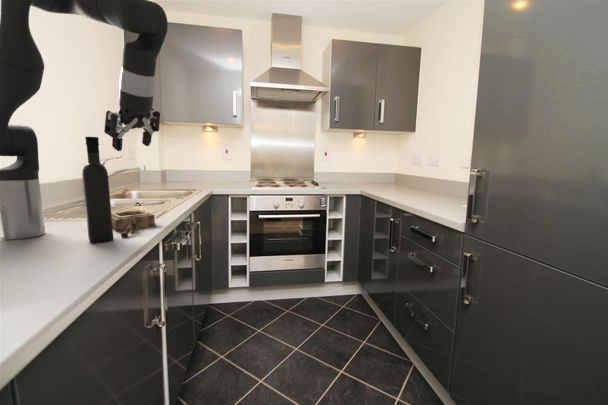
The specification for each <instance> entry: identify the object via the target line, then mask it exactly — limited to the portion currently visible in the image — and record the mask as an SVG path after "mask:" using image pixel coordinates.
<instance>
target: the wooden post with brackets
mask: <svg viewBox="0 0 608 405" xmlns="http://www.w3.org/2000/svg"><path fill="white" fill-rule="evenodd" d="M135 222H136V221H135V219H132V220H131V223H130V225H128V227H127V229H126V230H125V231H122V232H120V237H121V238H129V233H130V235H133V234H135V233H136V232H137V231H138V229H137V227H136V225H135ZM132 226H133V227H134V229H132Z"/></svg>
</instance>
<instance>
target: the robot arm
mask: <svg viewBox="0 0 608 405" xmlns="http://www.w3.org/2000/svg"><path fill="white" fill-rule="evenodd" d="M31 7H33V8H36V9H39V10H42V11H43V12H47V13H51V14H52V13H53V14H63V15H76V16H82V17H84V18H85V17H86V18H88V19H90V20H94V21H96V22H99V23H103V24H107V25H110V26H113V27H116V28H119V29H121V30H124V31H127V32H129V33H132V34H137V37H136V39H135V40H133V41H128V42H125V43H124V44H123V47H122V58H121V59H122V60H121V71H120V76H119V89H118V105H119V110H118V111H117V112H115V111H111V110H107V111H106V112H105V120H104V134H105V135H108V136H109V137H111V138H112V139H111V140H112V142H111V143H112V144H111V146H112V148H113V149H114V150H116V151H117V152H121V151H122V149H123V141H124V140H123V137H124V135H125V134H126V133H129V132H130V131H131V130H134V129H143V132H142V142H141V143H142V145H144V146H146V147H149V146H150V145H151V144H152V137H153V134H154V133H155V132H156V133H158V132H159V130H160V124H161V123H160V121H161V113H160V111H158V110H156V109H154V108H153V105H154V104H153V103H154V94H155V86H156V83H155V82H156V81H155V79H156V78H155V76H156V68H157V58H158V56H159V53H160V51H161V50H162V47H163V44H164V42H165V39H166V36H167V33H168V28H169V25H168V23H169V22H168V17H167V13H166V12H165V10H164V8H163V7H162V6H161V5H160V4H159V3H157V2H154V1H151V0H0V157H16V159H15V160H16V161H15V162H13V163H11V164H10V165H7V166H5V167H1V168H0V220H1V226H2V234H3V239H4V241H7V240H21V239H29V238H35V237H39V236H42V235H45V234H46V225H45V217H44V210H43V202H42V201H43V200H42V195H41V194H42V193H41V185H40V179H39V172H40V163H39V161H40V160H39V158H40V157H39V145H38V144H39V142H38V137H37V134H36V132H35V130H34V129H33V128H32V127H31V126H29V125H24V124H13V123H10V120H11V119H12V116H13V114H14V113H15V112H16V111H17V110H18V109H19V108H20V107H21V106H23V105H24V104H26V102H28V101H29V100H30V99H32V97H34V96H35V95H36V94H37V93H38V91H39V90H40V88H41V85H42V81H43V76H44V73H45V72H44V71H45V61H44V59H43V57H42V54H41V52H40V48H38V45H37V43H36V42H35V40H34V37H33V34H32V32H31V29H30V9H31ZM123 125H124V126H123Z"/></svg>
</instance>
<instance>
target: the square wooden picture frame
mask: <svg viewBox="0 0 608 405" xmlns="http://www.w3.org/2000/svg"><path fill="white" fill-rule="evenodd" d="M111 215H112V227H113V232H114V231H115V232H116V233H119V232H124V231H125V230H126V229H127V227H128V225H130V223H131V220H132V219H135V221H136V222H135V225H136V227H137V230H139V229H144V228H145V229H146V228H150V227H151V228H153V227H156V222H155V221H156V220H155V214H152V213H150V212H148V211H145V210H143V209H136V210H134V209H133V210H125V211H115V212H111ZM132 229H134V227H133V226H132Z"/></svg>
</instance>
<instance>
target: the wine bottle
mask: <svg viewBox="0 0 608 405" xmlns="http://www.w3.org/2000/svg"><path fill="white" fill-rule="evenodd" d="M84 138H85V145H86V152H87V153H86V154H87V163H86V164H85V165H84V166H83V169H82V173H81V174H82V184H83V194H84V197H83V198H84V206H85V215H86V216H85V217H86V225H87V235H88V241H89V243H90V244H92V245H93V244H101V243H109V242H111V241H113V240H114V230H113V227H112V215H111V213H112V206H111V193H110V185H109V184H110V183H109V182H110V181H109V173H108V170H107V168H106V166H104V164H102V163H101V159H100V158H101V157H100V148H99V146H100V142H99V137H98V136H85V137H84Z"/></svg>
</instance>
